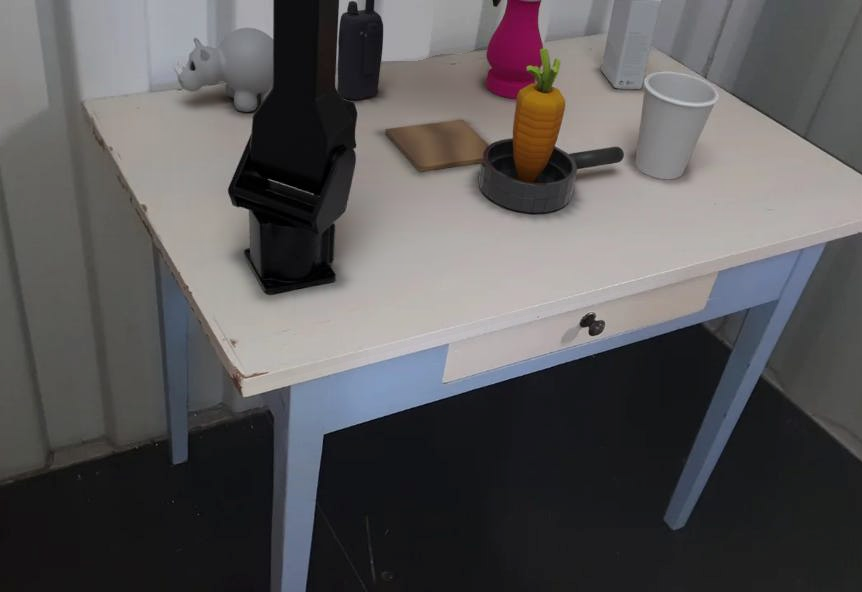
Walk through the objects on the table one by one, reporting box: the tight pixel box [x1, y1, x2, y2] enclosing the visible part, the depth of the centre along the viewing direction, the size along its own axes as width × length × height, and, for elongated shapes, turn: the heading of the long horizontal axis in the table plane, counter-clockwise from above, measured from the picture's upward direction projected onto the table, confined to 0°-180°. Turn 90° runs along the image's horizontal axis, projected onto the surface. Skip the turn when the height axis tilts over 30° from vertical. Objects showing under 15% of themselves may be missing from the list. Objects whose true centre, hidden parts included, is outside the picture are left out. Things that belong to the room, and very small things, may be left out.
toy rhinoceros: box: [173, 27, 273, 113], centre depth 103 cm, size 7×12×8 cm, turn 117°
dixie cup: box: [634, 71, 720, 180], centre depth 104 cm, size 8×8×10 cm
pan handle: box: [567, 146, 625, 170], centre depth 101 cm, size 8×2×2 cm, turn 119°
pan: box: [478, 137, 578, 214], centre depth 98 cm, size 10×10×4 cm
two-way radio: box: [337, 0, 384, 100], centre depth 107 cm, size 6×4×15 cm
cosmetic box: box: [600, 0, 662, 90], centre depth 122 cm, size 6×4×12 cm
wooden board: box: [384, 119, 490, 173], centre depth 104 cm, size 10×9×1 cm
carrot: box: [512, 47, 566, 183], centre depth 94 cm, size 5×5×15 cm
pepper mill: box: [485, 0, 544, 99], centre depth 113 cm, size 7×7×20 cm
